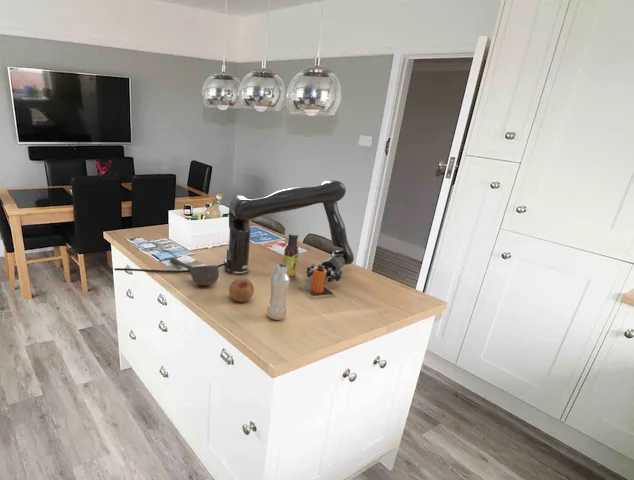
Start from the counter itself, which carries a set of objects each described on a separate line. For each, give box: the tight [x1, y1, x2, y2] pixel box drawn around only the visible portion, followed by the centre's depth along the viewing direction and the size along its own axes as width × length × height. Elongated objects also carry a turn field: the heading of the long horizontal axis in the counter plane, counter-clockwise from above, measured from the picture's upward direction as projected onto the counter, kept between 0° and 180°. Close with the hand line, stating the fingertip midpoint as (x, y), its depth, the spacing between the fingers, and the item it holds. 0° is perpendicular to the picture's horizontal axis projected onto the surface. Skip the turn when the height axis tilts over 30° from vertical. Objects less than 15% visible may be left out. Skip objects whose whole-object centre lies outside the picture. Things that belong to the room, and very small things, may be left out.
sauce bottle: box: [282, 232, 300, 279], centre depth 183 cm, size 6×6×20 cm
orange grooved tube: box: [310, 268, 327, 293], centre depth 171 cm, size 5×5×9 cm
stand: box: [301, 264, 334, 297], centre depth 171 cm, size 10×10×12 cm
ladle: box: [169, 257, 220, 287], centre depth 181 cm, size 12×38×10 cm, turn 35°
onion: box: [228, 277, 255, 303], centre depth 159 cm, size 10×9×10 cm
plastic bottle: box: [266, 263, 291, 321], centre depth 145 cm, size 6×7×20 cm
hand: (318, 277), depth 171 cm, fingers open, 8 cm apart
